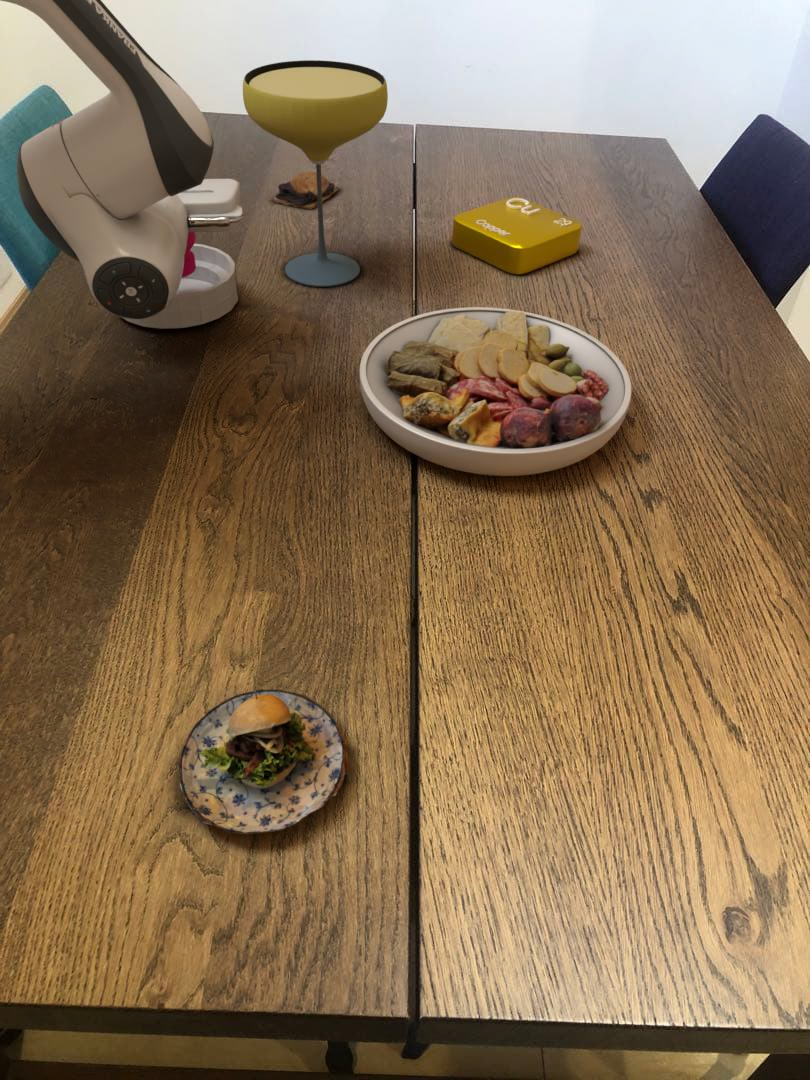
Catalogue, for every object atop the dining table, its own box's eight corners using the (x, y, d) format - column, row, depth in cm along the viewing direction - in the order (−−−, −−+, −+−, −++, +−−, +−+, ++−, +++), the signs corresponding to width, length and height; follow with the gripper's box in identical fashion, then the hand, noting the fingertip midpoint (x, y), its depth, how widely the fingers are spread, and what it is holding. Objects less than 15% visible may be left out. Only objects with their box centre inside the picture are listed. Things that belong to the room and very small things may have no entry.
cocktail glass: (301, 311, 109) (288, 108, 92) (237, 261, 120) (215, 70, 103) (409, 279, 117) (416, 86, 100) (341, 234, 128) (337, 53, 111)
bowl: (307, 394, 95) (304, 333, 89) (491, 319, 109) (498, 263, 104) (487, 532, 78) (496, 467, 73) (676, 423, 93) (695, 362, 88)
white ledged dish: (107, 336, 103) (98, 299, 100) (122, 278, 115) (114, 244, 111) (237, 331, 105) (233, 295, 101) (239, 275, 117) (235, 241, 113)
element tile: (446, 243, 127) (448, 212, 123) (511, 220, 134) (515, 190, 131) (517, 278, 119) (521, 246, 115) (583, 251, 126) (588, 220, 123)
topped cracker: (300, 181, 144) (299, 159, 142) (342, 190, 142) (342, 168, 139) (268, 201, 137) (266, 178, 134) (312, 210, 134) (311, 187, 132)
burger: (155, 831, 55) (134, 772, 50) (212, 690, 64) (199, 628, 59) (328, 860, 54) (324, 803, 49) (362, 714, 63) (362, 652, 58)
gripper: (240, 194, 88) (241, 151, 98) (43, 197, 86) (65, 153, 96) (246, 250, 93) (247, 204, 103) (58, 255, 90) (78, 207, 100)
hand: (158, 179), depth 99 cm, fingers closed on pepper mill, 4 cm apart
